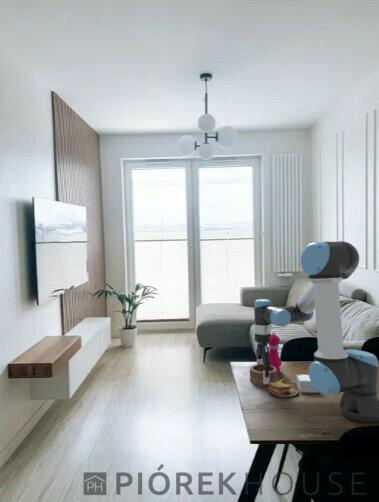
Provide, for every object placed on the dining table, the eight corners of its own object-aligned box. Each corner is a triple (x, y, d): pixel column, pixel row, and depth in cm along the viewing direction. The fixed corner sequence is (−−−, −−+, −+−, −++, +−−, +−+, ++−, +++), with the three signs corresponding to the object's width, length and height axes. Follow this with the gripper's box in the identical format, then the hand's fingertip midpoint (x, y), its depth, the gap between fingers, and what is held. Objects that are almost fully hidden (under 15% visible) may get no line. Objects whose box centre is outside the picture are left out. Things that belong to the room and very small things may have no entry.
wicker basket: (279, 385, 167) (279, 372, 166) (253, 386, 166) (252, 373, 166) (273, 376, 179) (272, 363, 178) (248, 376, 178) (248, 364, 178)
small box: (318, 393, 158) (318, 381, 158) (299, 392, 159) (299, 380, 159) (314, 386, 166) (314, 374, 166) (296, 385, 167) (296, 374, 167)
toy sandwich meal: (304, 395, 157) (304, 384, 156) (278, 401, 151) (278, 389, 151) (286, 385, 168) (286, 374, 168) (261, 390, 163) (260, 379, 163)
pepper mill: (277, 375, 180) (277, 334, 179) (264, 372, 184) (263, 332, 183) (283, 371, 185) (283, 331, 185) (270, 368, 190) (269, 329, 189)
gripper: (277, 340, 159) (278, 388, 160) (264, 326, 184) (264, 368, 185) (260, 340, 159) (260, 389, 160) (249, 326, 184) (250, 368, 185)
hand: (263, 378), depth 173 cm, fingers open, 13 cm apart
